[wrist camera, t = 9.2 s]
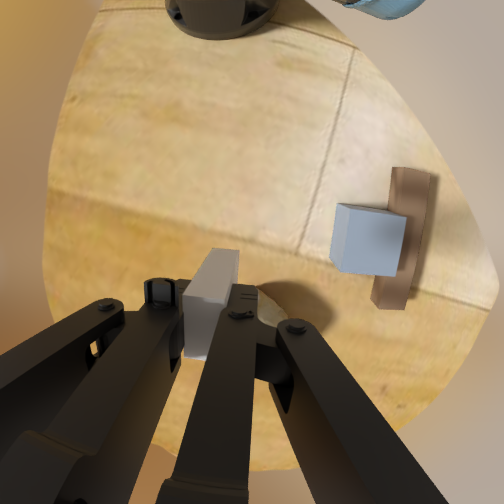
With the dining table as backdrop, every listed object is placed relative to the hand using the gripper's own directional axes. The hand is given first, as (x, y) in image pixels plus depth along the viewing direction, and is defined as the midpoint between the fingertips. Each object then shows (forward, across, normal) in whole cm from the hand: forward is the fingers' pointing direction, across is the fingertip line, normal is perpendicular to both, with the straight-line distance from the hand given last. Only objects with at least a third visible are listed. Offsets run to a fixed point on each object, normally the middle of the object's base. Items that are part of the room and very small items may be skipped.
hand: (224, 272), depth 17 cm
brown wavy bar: (+20, +20, 0) cm, 29 cm away
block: (+21, +14, -1) cm, 25 cm away
